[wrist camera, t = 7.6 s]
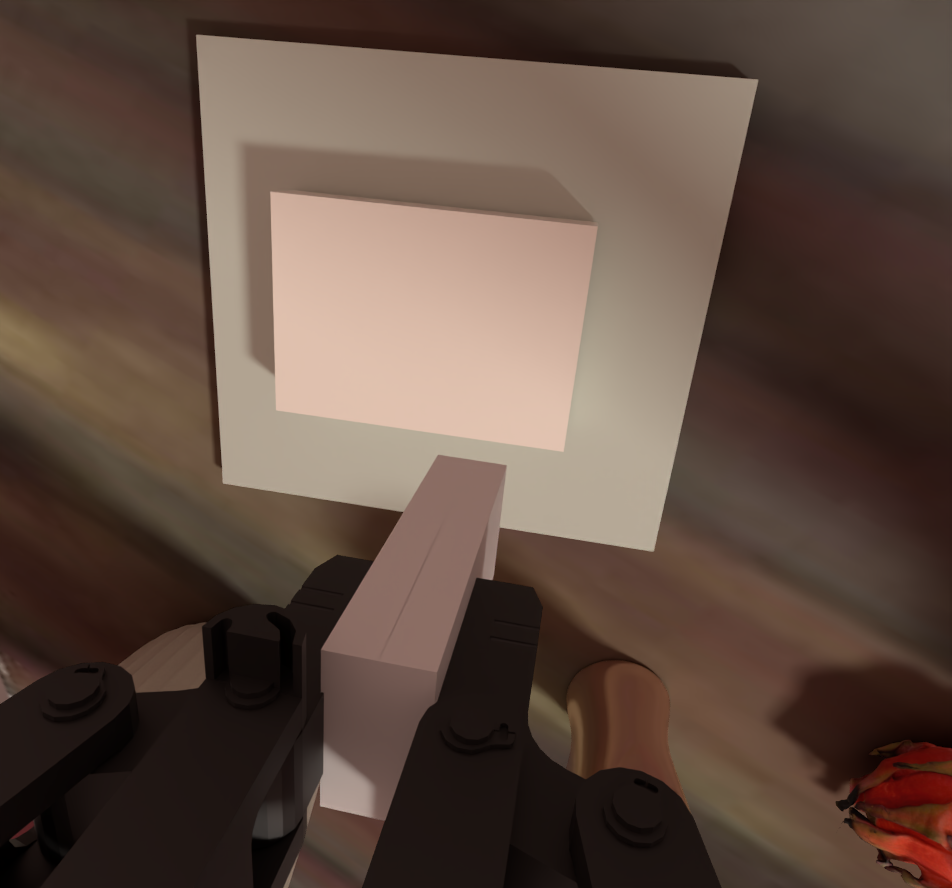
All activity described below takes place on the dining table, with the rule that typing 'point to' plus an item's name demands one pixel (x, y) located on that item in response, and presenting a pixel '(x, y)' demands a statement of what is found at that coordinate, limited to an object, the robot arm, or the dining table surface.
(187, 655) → the canister
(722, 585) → the dining table surface
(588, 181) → the mat
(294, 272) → the pale pink rectangular block
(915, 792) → the dragon fruit
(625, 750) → the beer glass
